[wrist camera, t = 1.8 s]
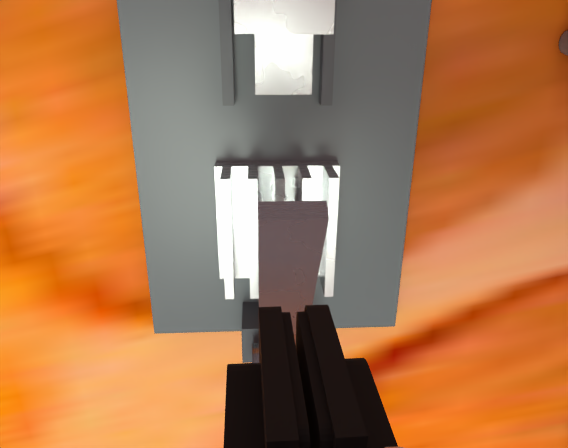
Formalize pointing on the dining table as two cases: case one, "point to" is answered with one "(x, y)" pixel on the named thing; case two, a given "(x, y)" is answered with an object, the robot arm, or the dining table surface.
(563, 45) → the mechanical component
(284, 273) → the silver metal bar
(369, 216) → the socket board
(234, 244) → the heatsink
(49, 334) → the dining table surface
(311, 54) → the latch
